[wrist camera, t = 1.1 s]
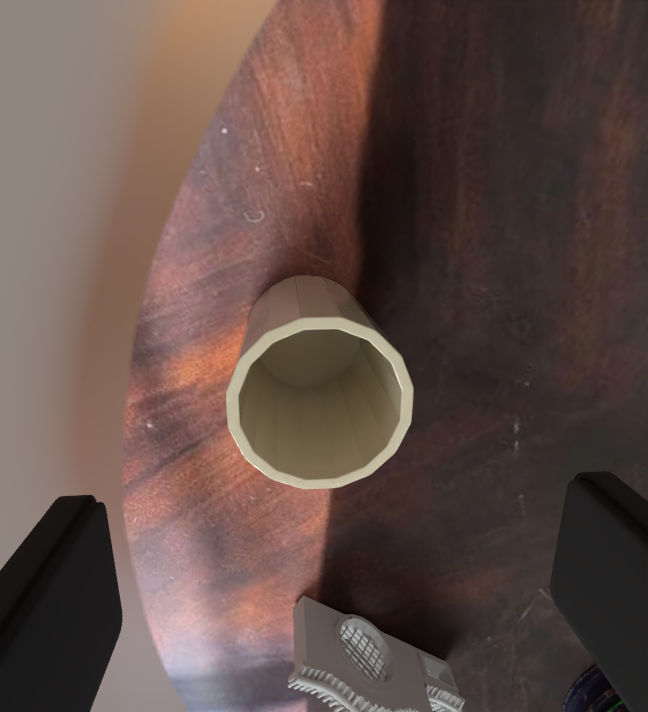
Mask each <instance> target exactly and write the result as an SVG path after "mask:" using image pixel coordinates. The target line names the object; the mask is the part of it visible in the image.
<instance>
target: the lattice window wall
mask: <svg viewBox="0 0 648 712" xmlns="http://www.w3.org/2000/svg"><path fill="white" fill-rule="evenodd" d="M293 618H294V653H295V671H294V672H293V673H292V674H291V675H290V677H289V678H288V680H289V682H290V683H289V684H288V685H287V686H288V688H290V687H292V686H293V685H295V684H296V685H295V686H294V689H295V690H296V689H297V688H299V687H300V688H299V689H300V691H302V690H304V689H305V688H306V689H305V692H308V691H310V690H311V694H314V693H316V692H318V693H319V694H318V695H317V698H320V697H322V696H325V698H323V702H326V701H328V700H330V701H331V702H330V703H329V707H331V706H333V705H335V704H336V706H337V708H335V709H334V711H335V712H338V711H340V710H342V711H341V712H433V711H432V710H436V709H438V710H436V712H442V711H443V712H462V706H463V704H464V702H465V700H464V698H463V697H461V696H459V695H458V689H457V686H456V683H455V680H454V678H453V675H452V672H451V669H450V667H449V665H448V664H447V662H445V661H443V660H441V659H439V658H437V657H435V656H433V655H430V654H428V653H426V652H424V651H422V650H420V649H417V648H415V647H413V646H411V645H409V644H407V643H405V642H403V641H401V640H398V639H396V638H394V637H392V636H390V635H388V634H386V633H383V632H381V631H380V630H379V629H378V628H376V627H375V626H374V625H373V624H372V623H371V622H369V621H368V620H366V619H364V618H363V617H361V616H357V615H354V614H348V615H345V614H343V613H340V612H338V611H336V610H334V609H332V608H330V607H327V606H325V605H323V604H321V603H319V602H317V601H315V600H312V599H310V598H308V597H306V596H304V595H303V596H302V597H301V599H300V600H299V601H298V603H297V604H296V605H295V606H294V608H293ZM345 638H346V639H348V642H347V640H346V639H345ZM342 640H343V641H344V642H345V643H346V645H344V644H343V642H342ZM350 642H351V643H352V644H353V645H354V646H355V648H353V647H352V646H351V645H350V644H349V643H350ZM347 646H349V648H350V649H351V650H352V653H351V651H350V650H349V649H348V648H347ZM358 646H359V647H360V648H361V649H362V650H363V651H362V650H361V649H360V648H359V647H358ZM356 649H357V650H358V651H359V652H360V653H361V655H359V654H358V653H357V652H356ZM346 651H347V652H348V653H349V654H350V656H349V655H348V654H347V652H346ZM354 653H355V654H356V655H357V657H358V658H359V659H357V658H356V657H355V656H354V655H353V654H354ZM364 653H365V654H366V655H367V656H366V655H365V654H364ZM362 656H364V658H365V659H366V660H367V661H366V662H365V661H364V659H363V658H362ZM351 657H352V658H353V659H354V660H355V661H356V663H355V662H354V661H353V660H352V658H351ZM360 660H361V661H362V662H363V663H364V666H363V665H362V664H361V663H360V662H359V661H360ZM368 662H369V663H370V664H371V665H372V666H373V667H372V668H371V667H370V666H369V665H368V664H367V663H368ZM358 664H359V665H360V667H361V668H362V670H361V669H360V667H359V666H358ZM365 667H367V668H368V669H369V670H370V673H369V672H368V671H367V669H366V668H365ZM374 669H375V671H376V673H375V672H374V671H373V670H374ZM363 671H365V672H366V673H367V675H368V677H367V675H366V674H365V673H364V672H363ZM372 673H373V674H374V676H375V677H376V678H377V679H376V680H375V678H374V677H373V676H372V675H371V674H372ZM370 678H371V679H370ZM312 689H313V690H312ZM431 707H432V708H431Z"/></svg>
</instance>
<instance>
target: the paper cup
mask: <svg viewBox="0 0 648 712" xmlns="http://www.w3.org/2000/svg"><path fill="white" fill-rule="evenodd" d="M413 392H414V389H413V384H412V382H411V379H410V376H409V374H408V371H407V368H406V366H405V363H404V360H403V358H402V356H401V354H400V353H399V352H398V351H397V349H396V348H395V347H394V346H393V344H392V343H391V342H390V340H389V339H388V338H387V337H386V335H385V334H384V333H383V332H382V330H381V329H380V328H379V327H378V325H377V324H376V323H375V322H374V320H373V319H372V318H371V317H370V315H369V314H368V313H367V312H366V310H365V309H364V308H363V306H362V305H361V304H360V303H359V302H358V301H357V300H356V299H355V298H354V297H353V296H352V294H351V293H350V292H349V291H348V290H347V289H346V288H345V287H344V286H342V285H340V284H338V283H336V282H334V281H332V280H330V279H327V278H324V277H320V276H315V275H300V276H294V277H290V278H287V279H284V280H282V281H280V282H278V283H276V284H274V285H273V286H272V287H270V288H269V289H268V290H267V291H265V292H264V293H263V294H262V295H261V297H260V298H259V299H258V300H257V302H256V303H255V305H254V306H253V309H252V311H251V313H250V317H249V319H248V322H247V324H246V327H245V331H244V334H243V337H242V341H241V344H240V347H239V351H238V354H237V357H236V361H235V364H234V367H233V371H232V374H231V377H230V381H229V384H228V387H227V391H226V406H227V422H228V428H229V431H230V433H231V434H232V436H233V438H234V440H235V442H236V444H237V446H238V447H239V449H240V451H241V453H242V455H243V457H245V459H246V460H247V461H249V462H250V463H251V464H252V465H254V466H255V467H256V468H257V469H259V470H260V471H261V472H263V473H264V474H265V475H266V476H268V477H269V478H270V479H272V480H275V481H278V482H282V483H285V484H288V485H291V486H295V487H298V488H301V489H322V488H338V487H342V486H344V485H347V484H349V483H351V482H354V481H356V480H359V479H361V478H364V477H366V476H369V475H370V474H372V473H373V472H374V471H375V470H376V469H378V468H379V467H380V466H381V465H382V464H383V463H384V462H385V461H387V460H388V459H389V458H390V457H391V456H392V455H393V454H394V453H395V452H396V451H397V449H398V447H399V445H400V443H401V441H402V439H403V437H404V435H405V433H406V431H407V429H408V428H409V426H410V424H411V420H412V407H413Z"/></svg>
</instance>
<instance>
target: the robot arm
mask: <svg viewBox="0 0 648 712" xmlns="http://www.w3.org/2000/svg"><path fill="white" fill-rule="evenodd" d="M550 592H551V596H552V599H553V601H554V603H555V605H556V606H557V608H558V609H559V611H560V612H561V614H562V615H563V616H564V618H565V619H566V621H567V622H568V624H569V625H570V626H571V628H572V629H573V631H574V632H575V634H576V635H577V637H578V638H579V639H580V641H581V642H582V644H583V645H584V647H585V648H586V649H587V651H588V652H589V654H590V655H591V657H592V658H593V659H594V661H595V662H596V664H597V665H598V667H599V668H600V670H601V671H602V672H603V674H604V675H605V677H606V678H607V680H608V681H609V682H610V684H611V685H612V687H613V688H614V690H615V691H616V693H617V694H618V695H619V697H620V698H621V700H622V701H623V703H624V704H625V705H626V707H627V708H628V710H629V711H630V712H648V501H647V500H645V499H644V498H643V497H642V496H640V495H639V494H638V493H636V492H635V491H634V490H633V489H631V488H630V487H629V486H628V485H626V484H625V483H624V482H623V481H621V480H620V479H619V478H618V477H616V476H615V475H614V474H612V473H610V472H605V471H604V472H582V473H579V474H577V475H576V477H575V478H574V480H572V481H570V482H569V484H568V486H567V491H566V497H565V503H564V508H563V514H562V519H561V525H560V531H559V536H558V542H557V548H556V553H555V559H554V564H553V570H552V576H551V581H550ZM121 626H122V608H121V601H120V595H119V589H118V582H117V576H116V569H115V563H114V557H113V550H112V544H111V538H110V531H109V525H108V519H107V513H106V507H105V505H104V503H102V502H96V499H95V497H94V496H92V495H78V496H62V497H59V498H58V499H56V500H55V502H54V503H53V504H52V506H51V507H50V508H49V509H48V511H47V512H46V513H45V515H44V516H43V517H42V519H41V520H40V521H39V522H38V523H37V525H36V526H35V527H34V528H33V530H32V531H31V532H30V533H29V535H28V536H27V537H26V539H25V540H24V541H23V543H22V544H21V545H20V546H19V547H18V549H17V550H16V551H15V553H14V554H13V555H12V556H11V558H10V559H9V560H8V561H7V563H6V564H5V565H4V567H3V568H2V569H1V570H0V712H90V710H91V707H92V705H93V702H94V699H95V697H96V694H97V692H98V689H99V686H100V684H101V681H102V679H103V676H104V674H105V671H106V668H107V665H108V663H109V660H110V658H111V655H112V652H113V650H114V648H115V645H116V642H117V640H118V637H119V634H120V631H121Z"/></svg>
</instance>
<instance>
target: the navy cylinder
mask: <svg viewBox="0 0 648 712" xmlns="http://www.w3.org/2000/svg"><path fill="white" fill-rule="evenodd" d="M562 712H630V711H629V710H628V708H627V707H626V705H625V704H624V703H623V701H622V700H621V698H620V697H619V695H618V694H617V693H616V691H615V690H614V688H613V687H612V685H611V684H610V682H609V681H608V680H607V678H606V677H605V675H604V674H603V672H602V671H601V670H600V668H599V667H598V665H596V666H594V667H593V668H591V669H590V670H589V671H587V672H586V673H585V674H584V675H582V677H581V678H580V679H579V680H578V681H577V682H576V683H575V684H574V685H573V687H572V688H571V689H570V691H569V693H568V695H567V696H566V699H565V701H564V704H563V710H562Z"/></svg>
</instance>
